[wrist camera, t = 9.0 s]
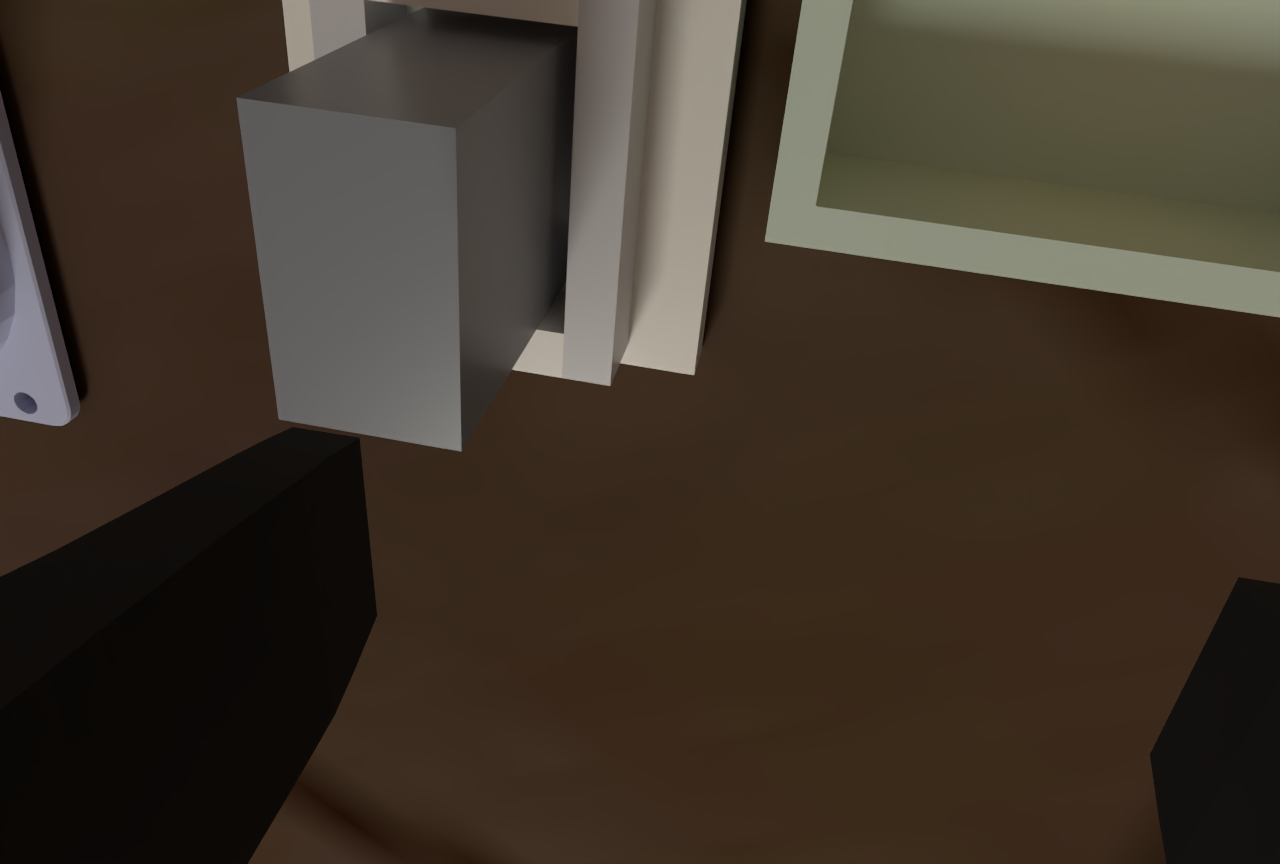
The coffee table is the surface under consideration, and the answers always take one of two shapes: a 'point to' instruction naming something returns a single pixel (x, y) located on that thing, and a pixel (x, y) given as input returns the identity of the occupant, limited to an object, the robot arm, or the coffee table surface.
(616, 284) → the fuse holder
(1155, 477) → the coffee table surface
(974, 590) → the coffee table surface
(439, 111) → the block
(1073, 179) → the tray
